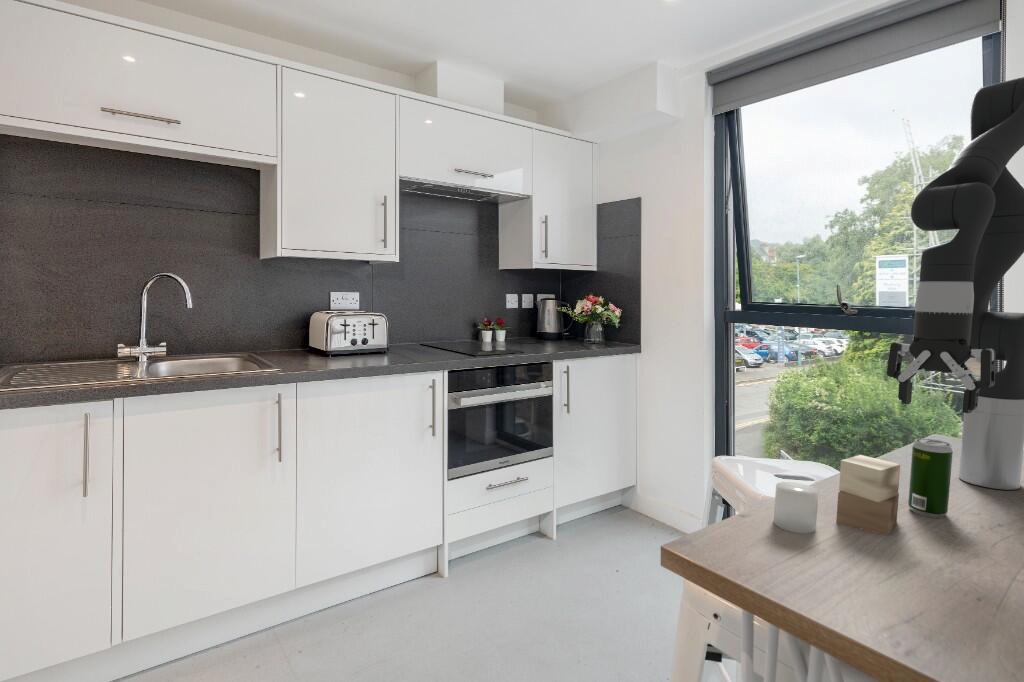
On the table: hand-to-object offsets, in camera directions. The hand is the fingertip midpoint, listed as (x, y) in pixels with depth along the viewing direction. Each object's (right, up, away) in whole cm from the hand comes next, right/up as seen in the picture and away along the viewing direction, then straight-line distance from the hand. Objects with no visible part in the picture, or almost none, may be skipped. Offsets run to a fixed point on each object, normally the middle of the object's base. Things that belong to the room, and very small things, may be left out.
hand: (935, 408), depth 94 cm
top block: (-13, -13, -3) cm, 19 cm away
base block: (-13, -18, -3) cm, 23 cm away
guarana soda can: (0, -18, +2) cm, 18 cm away
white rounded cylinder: (-25, -18, -4) cm, 32 cm away
